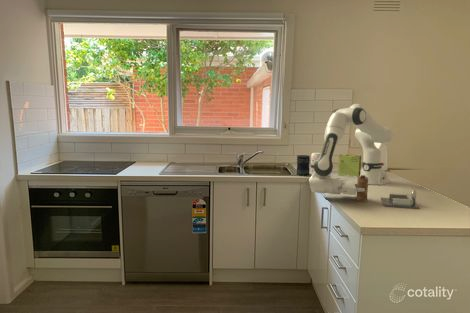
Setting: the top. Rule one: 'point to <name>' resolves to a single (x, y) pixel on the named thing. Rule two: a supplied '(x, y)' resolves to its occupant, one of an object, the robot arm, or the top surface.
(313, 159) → the supplement can
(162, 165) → the top surface
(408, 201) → the keeper bracket
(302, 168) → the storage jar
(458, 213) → the top surface
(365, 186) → the walnut toggle block
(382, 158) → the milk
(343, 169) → the protein box
